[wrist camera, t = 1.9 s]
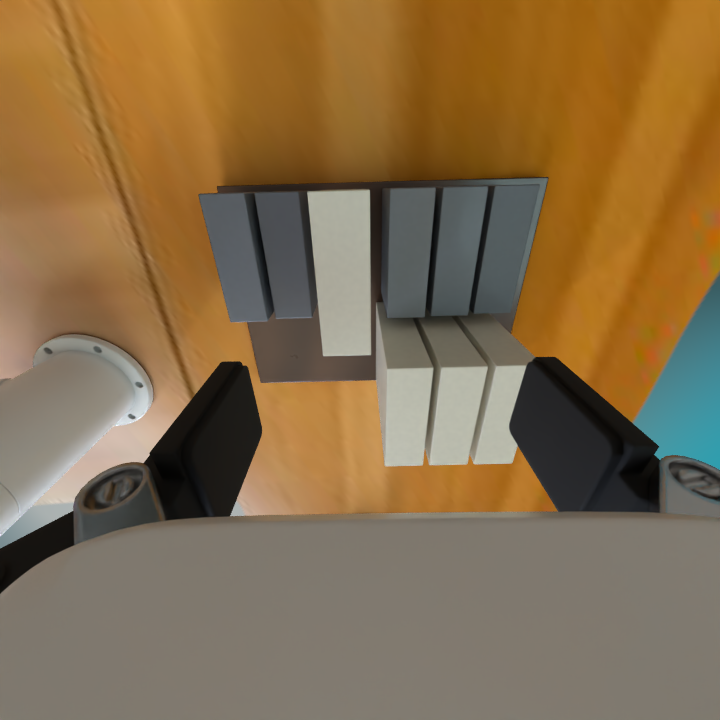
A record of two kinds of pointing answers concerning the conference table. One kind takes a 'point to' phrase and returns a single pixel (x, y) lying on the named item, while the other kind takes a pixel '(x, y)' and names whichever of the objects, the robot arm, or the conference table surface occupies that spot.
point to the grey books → (399, 250)
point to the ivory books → (447, 388)
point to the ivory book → (342, 269)
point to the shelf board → (303, 335)
